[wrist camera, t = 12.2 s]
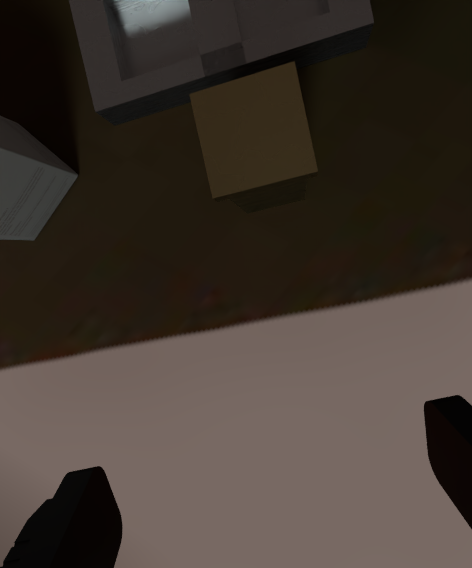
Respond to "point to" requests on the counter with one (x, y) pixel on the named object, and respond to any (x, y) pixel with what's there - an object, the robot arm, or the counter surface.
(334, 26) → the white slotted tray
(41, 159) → the supplement box
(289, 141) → the brown square post
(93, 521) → the robot arm
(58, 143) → the counter surface
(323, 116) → the counter surface
